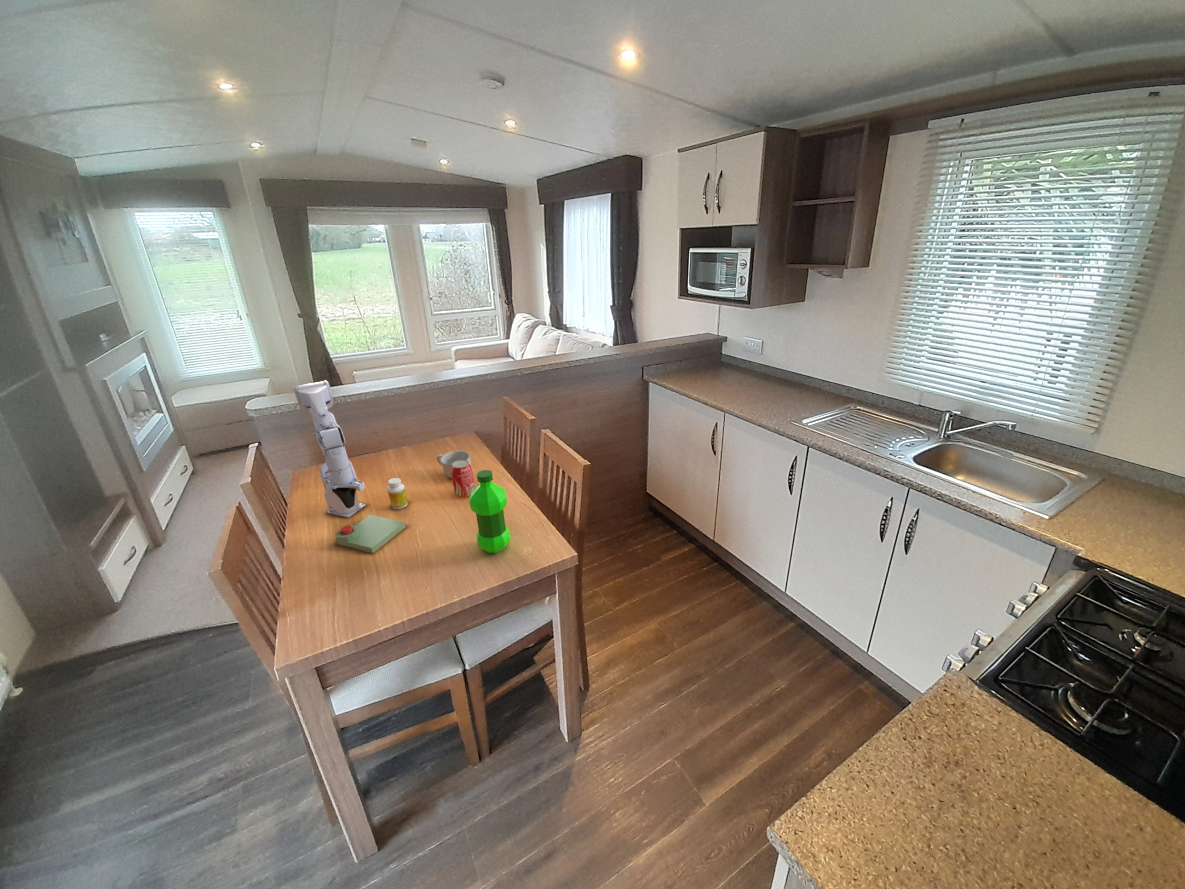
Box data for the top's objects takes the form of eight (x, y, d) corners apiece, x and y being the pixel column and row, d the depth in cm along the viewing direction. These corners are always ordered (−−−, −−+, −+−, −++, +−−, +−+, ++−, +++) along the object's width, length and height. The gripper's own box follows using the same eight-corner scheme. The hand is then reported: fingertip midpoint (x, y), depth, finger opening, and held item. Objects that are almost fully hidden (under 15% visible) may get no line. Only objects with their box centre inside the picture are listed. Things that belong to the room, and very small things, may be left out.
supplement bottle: (402, 510, 161) (396, 485, 157) (388, 508, 162) (382, 484, 158) (411, 501, 166) (405, 477, 162) (397, 500, 167) (391, 476, 163)
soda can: (456, 488, 173) (451, 459, 168) (476, 487, 173) (472, 458, 168) (453, 499, 167) (448, 468, 161) (473, 497, 167) (469, 467, 162)
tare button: (339, 534, 144) (338, 530, 143) (347, 528, 146) (346, 524, 146) (347, 536, 143) (345, 532, 142) (354, 530, 145) (353, 526, 145)
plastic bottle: (518, 550, 139) (509, 475, 129) (484, 563, 134) (472, 486, 124) (505, 533, 147) (495, 461, 137) (472, 545, 142) (459, 471, 132)
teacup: (478, 472, 184) (475, 453, 181) (457, 484, 176) (454, 465, 172) (453, 464, 191) (450, 446, 187) (432, 475, 183) (428, 457, 179)
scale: (334, 544, 144) (331, 535, 143) (370, 519, 157) (368, 510, 155) (371, 554, 140) (369, 544, 138) (405, 527, 152) (403, 518, 150)
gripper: (309, 469, 138) (321, 509, 144) (346, 477, 133) (358, 518, 139) (329, 459, 144) (340, 497, 149) (366, 466, 139) (376, 505, 145)
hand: (350, 506), depth 144 cm, fingers closed
